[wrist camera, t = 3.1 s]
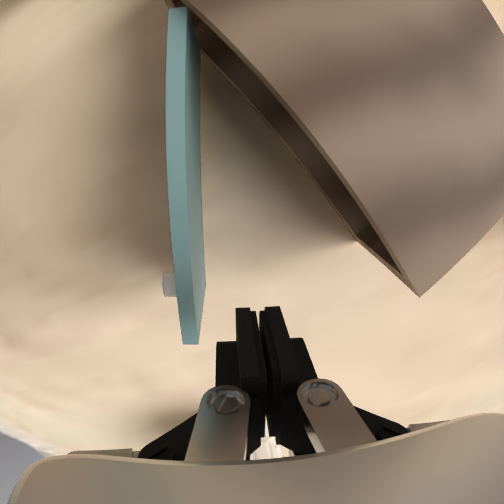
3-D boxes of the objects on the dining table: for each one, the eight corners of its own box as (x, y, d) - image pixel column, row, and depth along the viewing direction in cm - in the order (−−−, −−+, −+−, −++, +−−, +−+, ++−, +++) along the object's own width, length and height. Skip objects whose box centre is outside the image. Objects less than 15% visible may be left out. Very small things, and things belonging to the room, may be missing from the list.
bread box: (178, 29, 17) (149, -32, 8) (327, -55, 14) (368, -117, 6) (357, 241, 23) (419, 297, 14) (472, 139, 20) (551, 153, 12)
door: (169, 50, 16) (141, 12, 10) (200, 48, 17) (187, 6, 10) (177, 285, 22) (160, 344, 15) (206, 284, 22) (198, 344, 16)
